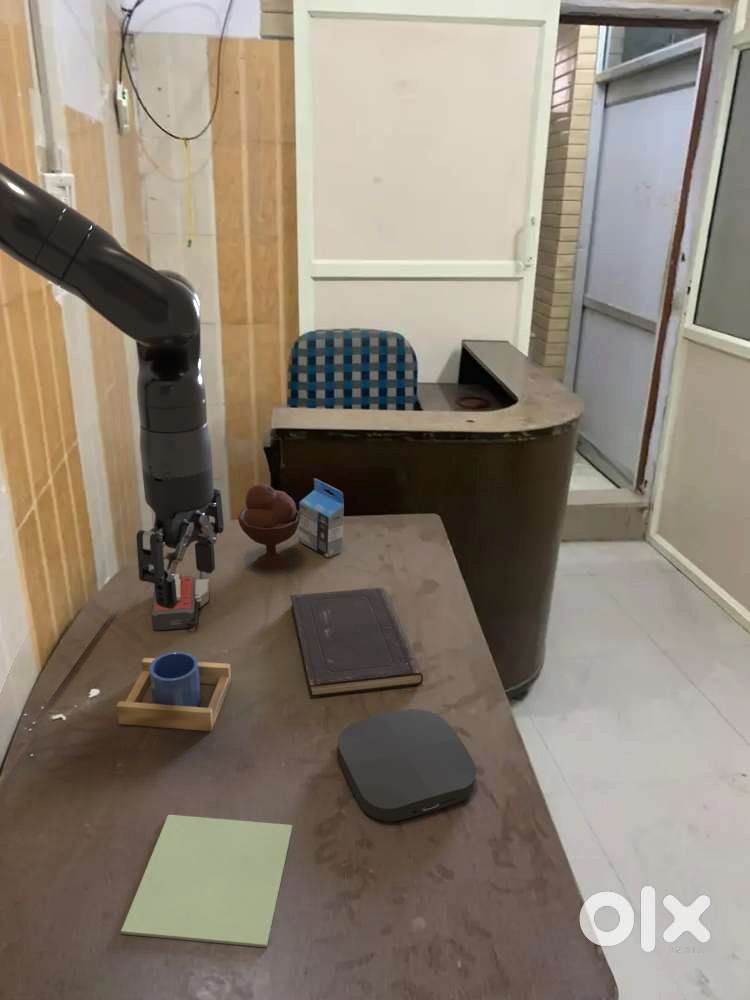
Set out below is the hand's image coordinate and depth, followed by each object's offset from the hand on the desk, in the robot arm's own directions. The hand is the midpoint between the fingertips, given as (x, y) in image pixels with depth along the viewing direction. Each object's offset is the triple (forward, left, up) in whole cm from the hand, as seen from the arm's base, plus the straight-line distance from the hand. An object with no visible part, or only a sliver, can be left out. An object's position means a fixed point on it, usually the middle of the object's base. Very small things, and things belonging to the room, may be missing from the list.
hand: (187, 587), depth 90 cm
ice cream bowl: (+1, +43, -21) cm, 47 cm away
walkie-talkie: (-11, +29, -21) cm, 37 cm away
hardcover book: (+18, +20, -21) cm, 34 cm away
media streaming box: (+27, -5, -21) cm, 34 cm away
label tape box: (+9, +50, -21) cm, 54 cm away
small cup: (-4, +4, -20) cm, 21 cm away
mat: (+8, -22, -20) cm, 31 cm away
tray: (-4, +4, -20) cm, 21 cm away
